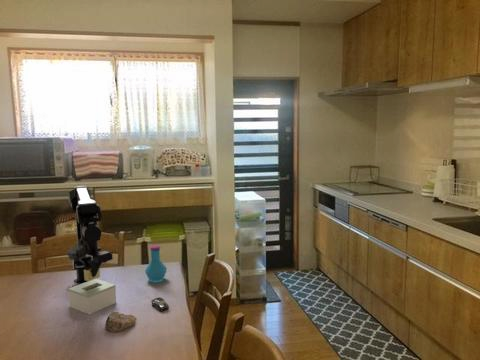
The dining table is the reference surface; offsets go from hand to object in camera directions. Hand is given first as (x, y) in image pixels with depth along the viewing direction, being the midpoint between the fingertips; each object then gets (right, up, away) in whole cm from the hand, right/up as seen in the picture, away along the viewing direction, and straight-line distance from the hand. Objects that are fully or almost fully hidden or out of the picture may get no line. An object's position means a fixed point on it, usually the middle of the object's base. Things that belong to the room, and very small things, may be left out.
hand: (91, 275), depth 150 cm
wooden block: (0, -1, 0) cm, 1 cm away
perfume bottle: (+19, -8, +26) cm, 33 cm away
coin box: (0, -11, +1) cm, 11 cm away
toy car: (+25, -11, 0) cm, 27 cm away
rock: (+15, -14, -16) cm, 26 cm away
